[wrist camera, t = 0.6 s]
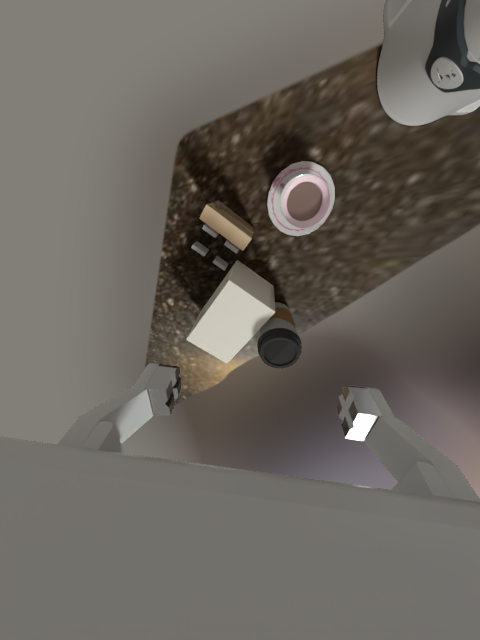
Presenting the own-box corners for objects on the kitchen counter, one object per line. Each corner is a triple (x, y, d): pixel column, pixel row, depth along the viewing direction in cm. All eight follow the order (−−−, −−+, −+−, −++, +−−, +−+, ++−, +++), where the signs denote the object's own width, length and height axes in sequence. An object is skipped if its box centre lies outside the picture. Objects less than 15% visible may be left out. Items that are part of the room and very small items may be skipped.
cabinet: (207, 222, 44) (189, 233, 34) (281, 277, 49) (285, 301, 38) (168, 290, 53) (145, 316, 43) (234, 331, 58) (227, 363, 47)
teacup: (349, 188, 39) (361, 188, 34) (304, 247, 45) (309, 255, 40) (294, 144, 37) (298, 138, 32) (254, 212, 43) (253, 216, 37)
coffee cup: (252, 317, 55) (248, 357, 42) (272, 291, 51) (274, 327, 38) (280, 333, 56) (284, 376, 44) (301, 309, 52) (313, 349, 39)
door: (220, 196, 42) (209, 199, 33) (256, 224, 44) (254, 234, 35) (212, 211, 43) (199, 218, 35) (247, 238, 45) (243, 251, 37)
